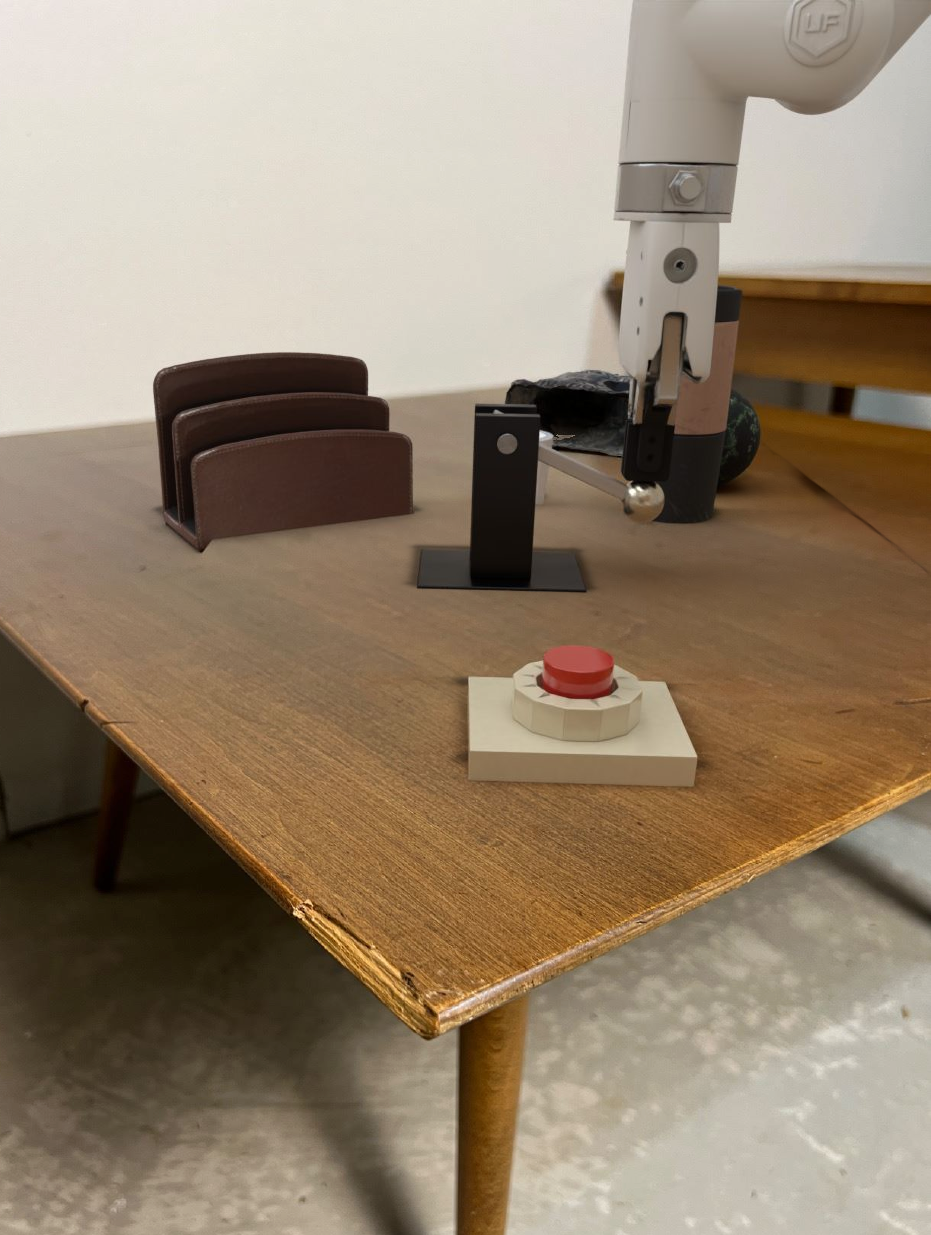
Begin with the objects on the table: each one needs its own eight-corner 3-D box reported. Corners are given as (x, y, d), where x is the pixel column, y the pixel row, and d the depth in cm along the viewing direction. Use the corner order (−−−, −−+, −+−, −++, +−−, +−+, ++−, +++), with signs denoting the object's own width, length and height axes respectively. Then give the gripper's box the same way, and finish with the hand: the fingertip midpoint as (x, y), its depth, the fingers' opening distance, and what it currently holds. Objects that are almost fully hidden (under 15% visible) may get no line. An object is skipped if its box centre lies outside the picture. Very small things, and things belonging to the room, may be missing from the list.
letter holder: (162, 523, 94) (148, 357, 88) (365, 499, 103) (364, 346, 97) (197, 553, 86) (184, 372, 80) (414, 524, 95) (416, 359, 89)
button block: (662, 708, 60) (668, 651, 59) (693, 787, 52) (702, 723, 51) (467, 703, 61) (469, 646, 59) (468, 781, 52) (470, 716, 51)
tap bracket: (573, 566, 84) (585, 400, 79) (585, 605, 76) (600, 423, 71) (420, 563, 84) (423, 397, 79) (416, 601, 76) (419, 419, 71)
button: (606, 676, 57) (609, 645, 56) (616, 704, 53) (619, 672, 53) (538, 674, 57) (541, 643, 56) (543, 703, 54) (546, 670, 53)
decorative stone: (712, 471, 116) (724, 376, 112) (774, 492, 107) (789, 390, 103) (633, 478, 112) (643, 380, 108) (691, 501, 104) (703, 395, 100)
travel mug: (609, 521, 97) (629, 285, 88) (662, 508, 101) (686, 282, 93) (678, 540, 91) (706, 291, 83) (731, 525, 96) (763, 288, 88)
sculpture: (495, 441, 127) (573, 415, 152) (625, 464, 121) (684, 433, 146) (503, 373, 124) (581, 358, 149) (637, 393, 118) (695, 374, 143)
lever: (646, 523, 80) (668, 484, 78) (653, 535, 77) (676, 495, 75) (477, 443, 78) (497, 402, 76) (478, 452, 75) (498, 410, 73)
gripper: (762, 197, 62) (720, 506, 70) (707, 199, 76) (677, 457, 83) (632, 195, 62) (604, 503, 70) (601, 197, 76) (581, 455, 84)
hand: (644, 478), depth 77 cm, fingers closed
